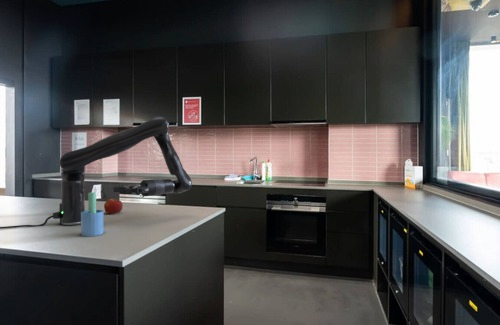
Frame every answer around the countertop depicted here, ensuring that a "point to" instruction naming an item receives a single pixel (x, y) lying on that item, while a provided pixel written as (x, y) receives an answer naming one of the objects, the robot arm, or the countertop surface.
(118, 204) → the tomato
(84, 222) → the cup
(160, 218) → the countertop surface
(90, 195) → the mint green tapered cylinder
